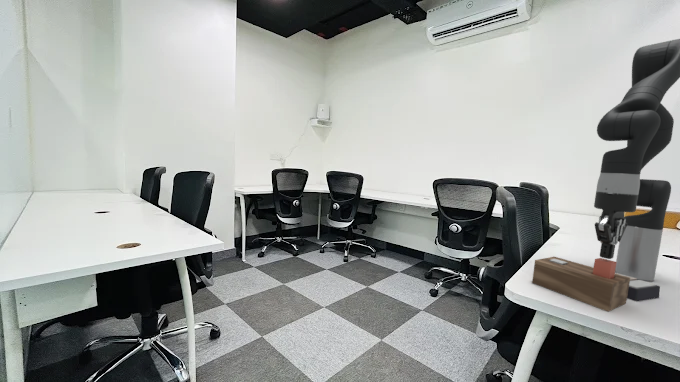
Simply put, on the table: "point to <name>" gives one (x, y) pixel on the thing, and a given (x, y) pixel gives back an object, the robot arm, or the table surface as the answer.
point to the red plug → (604, 268)
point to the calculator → (641, 289)
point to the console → (581, 283)
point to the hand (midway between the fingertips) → (606, 257)
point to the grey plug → (558, 261)
